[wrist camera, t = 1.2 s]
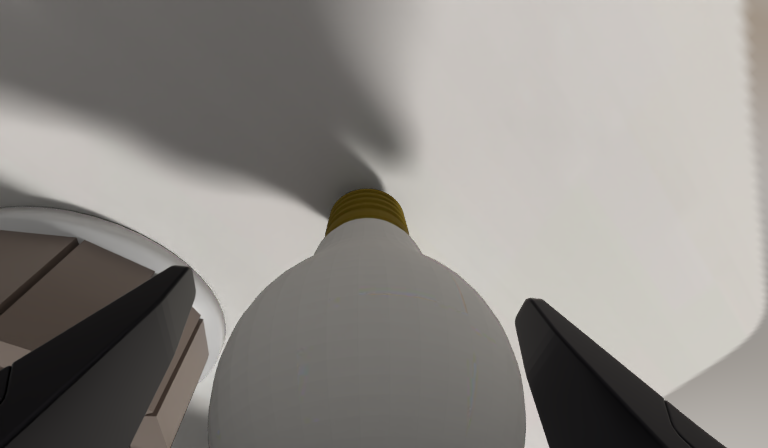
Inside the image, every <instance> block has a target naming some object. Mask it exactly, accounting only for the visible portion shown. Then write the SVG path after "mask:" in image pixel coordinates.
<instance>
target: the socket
mask: <svg viewBox="0 0 768 448" xmlns="http://www.w3.org/2000/svg"><path fill="white" fill-rule="evenodd" d="M173 265H181V266H188V265H187V264H186V263H185V262H183V261H182V260H181V259H180V258H178V257H177V256H176V255H174V254H173V253H171V252H170V251H168V250H167V249H165V248H164V247H162V246H161V245H159V244H158V243H156V242H154V241H152V240H150V239H148V238H146V237H144V236H143V235H141V234H139V233H137V232H134V231H132V230H130V229H127V228H125V227H123V226H120V225H118V224H115V223H112V222H109V221H106V220H103V219H100V218H97V217H94V216H90V215H86V214H82V213H77V212H73V211H68V210H61V209H55V208H47V207H30V206H23V207H4V208H0V370H1V369H3V368H5V367H6V366H12V363H13V362H15V361H16V360H18V359H20V358H21V357H23V356H24V355H26V354H28V353H29V352H31V351H33V350H34V349H36V348H38V347H39V346H41V345H43V344H44V343H46V342H47V341H49V340H51V339H52V338H54V337H56V336H57V335H59V334H61V333H62V332H64V331H65V330H67V329H69V328H70V327H72V326H74V325H75V324H77V323H79V322H80V321H82V320H83V319H85V318H87V317H88V316H90V315H92V314H93V313H95V312H97V311H98V310H100V309H101V308H103V307H105V306H106V305H108V304H110V303H111V302H113V301H115V300H116V299H118V298H119V297H121V296H123V295H124V294H126V293H128V292H129V291H131V290H133V289H134V288H136V287H137V286H139V285H141V284H142V283H144V282H146V281H147V280H149V279H151V278H152V277H154V276H155V275H157V274H159V273H160V272H162V271H164V270H165V269H167V268H169V267H170V266H173ZM189 267H190V266H189ZM192 271H193V276H194V282H195V288H196V296H195V300H194V303H193V305H192V308H191V311H190V314H189V317H188V319H187V322H186V325H185V328H184V331H183V333H182V336H181V339H180V342H179V344H178V347H177V350H176V352H175V355H174V357H173V359H172V361H171V364H170V366H169V368H168V370H167V372H166V374H165V376H164V378H163V380H162V382H161V384H160V386H159V388H158V390H157V392H156V394H155V396H154V398H153V400H152V402H151V404H150V406H149V408H148V410H147V412H146V414H145V416H144V418H143V420H142V422H141V424H140V426H139V428H138V430H137V432H136V434H135V436H134V439H133V441H132V443H131V445H130V447H129V448H171V445H172V443H173V441H174V438H175V436H176V433H177V431H178V429H179V426H180V424H181V422H182V419H183V417H184V414H185V412H186V410H187V407H188V405H189V402H190V400H191V398H192V395H193V393H194V390H195V388H196V386H197V384H198V383H199V382H201V381H202V380H203V379H204V378H205V377H206V376H207V375H208V374H209V373H210V372H211V370H212V369H213V368H214V366H215V364H216V361H217V359H218V357H219V354H220V352H221V349H222V346H223V344H224V339H225V335H226V327H225V320H224V315H223V312H222V309H221V307H220V304H219V302H218V300H217V299H216V297H215V295H214V294H213V292H212V291H211V289H210V288H209V287H208V285H207V284H206V283H205V282H204V281H203V279H202V278H201V277H200V276H199V275H198V274H197V273H196V272H195V271H194V270H193V269H192Z"/></svg>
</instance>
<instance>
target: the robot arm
mask: <svg viewBox="0 0 768 448" xmlns="http://www.w3.org/2000/svg"><path fill="white" fill-rule="evenodd" d="M195 296H196V288H195V282H194V276H193V271H192V268H191V267H189V266H181V265H173V266H170V267H169V268H167V269H165V270H164V271H162V272H160V273H159V274H157V275H155V276H154V277H152V278H151V279H149V280H147V281H146V282H144V283H142V284H141V285H139V286H137V287H136V288H134V289H133V290H131V291H129V292H128V293H126V294H124V295H123V296H121V297H119V298H118V299H116V300H115V301H113V302H111V303H110V304H108V305H106V306H105V307H103V308H101V309H100V310H98V311H97V312H95V313H93V314H92V315H90V316H88V317H87V318H85V319H83V320H82V321H80V322H79V323H77V324H75V325H74V326H72V327H70V328H69V329H67V330H65V331H64V332H62V333H61V334H59V335H57V336H56V337H54V338H52V339H51V340H49V341H47V342H46V343H44V344H43V345H41V346H39V347H38V348H36V349H34V350H33V351H31V352H29V353H28V354H26V355H24V356H23V357H21V358H20V359H18V360H16V361H15V362H13V363H12V366H6V367H5V368H3V369H1V370H0V448H129V447H130V445H131V443H132V441H133V439H134V436H135V434H136V432H137V430H138V428H139V426H140V424H141V422H142V420H143V418H144V416H145V414H146V412H147V410H148V408H149V406H150V404H151V402H152V400H153V398H154V396H155V394H156V392H157V390H158V388H159V386H160V384H161V382H162V380H163V378H164V376H165V374H166V372H167V370H168V368H169V366H170V364H171V361H172V359H173V357H174V355H175V352H176V350H177V347H178V344H179V342H180V339H181V336H182V333H183V331H184V328H185V325H186V322H187V319H188V317H189V314H190V311H191V308H192V305H193V303H194V300H195ZM515 327H516V331H517V336H518V341H519V345H520V350H521V354H522V359H523V364H524V368H525V372H526V376H527V380H528V383H529V386H530V389H531V392H532V395H533V398H534V402H535V405H536V408H537V411H538V414H539V417H540V420H541V423H542V426H543V429H544V432H545V435H546V438H547V442H548V445H549V448H726V447H725V446H724V445H722V444H721V443H720V442H718V441H717V440H716V439H714V438H713V437H712V436H710V435H709V434H708V433H706V432H705V431H704V430H703V429H701V428H700V427H699V426H697V425H696V424H695V423H694V422H693V421H691V420H690V419H689V418H687V417H686V416H685V415H684V414H682V413H681V412H680V411H679V410H678V409H676V408H675V407H674V406H673V405H671V404H670V403H669V402H668V401H664V398H663V397H662V396H660V395H659V394H658V393H657V392H655V391H654V390H653V389H652V388H651V387H649V386H648V385H647V384H646V383H644V382H643V381H642V380H641V379H640V378H638V377H637V376H636V375H635V374H633V373H632V372H631V371H630V370H628V369H627V368H626V367H625V366H624V365H622V364H621V363H620V362H619V361H617V360H616V359H615V358H614V357H613V356H611V355H610V354H609V353H608V352H606V351H605V350H604V349H603V348H601V347H600V346H599V345H598V344H597V343H595V342H594V341H593V340H592V339H590V338H589V337H588V336H587V335H586V334H584V333H583V332H582V331H581V330H579V329H578V328H577V327H576V326H574V325H573V324H572V323H571V322H570V321H568V320H567V319H566V318H565V317H563V316H562V315H561V314H560V313H559V312H557V311H556V310H555V309H554V308H552V307H551V306H550V305H549V304H548V303H546V302H545V301H544V300H542V299H536V298H528V299H526V300H525V302H524V303H523V305H522V307H521V309H520V311H519V312H518V314H517V316H516V319H515Z"/></svg>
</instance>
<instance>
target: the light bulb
mask: <svg viewBox="0 0 768 448" xmlns="http://www.w3.org/2000/svg"><path fill="white" fill-rule="evenodd" d="M525 433H526V413H525V403H524V393H523V385H522V380H521V374H520V371H519V367H518V363H517V361H516V358H515V355H514V352H513V350H512V347H511V345H510V343H509V340H508V338H507V336H506V334H505V331H504V329H503V327H502V326H501V324H500V322H499V320H498V319H497V317H496V316H495V315H494V313H493V312H492V310H491V309H490V308H489V306H488V305H487V304H486V302H485V301H484V299H483V298H482V297H481V296H480V295H479V294H478V292H477V291H476V290H475V289H473V288H472V287H471V286H470V285H469V284H468V283H467V282H466V281H465V280H464V279H462V278H461V277H460V276H459V275H458V274H456V273H455V272H454V271H452V270H451V269H449V268H448V267H446V266H444V265H443V264H441V263H440V262H438V261H436V260H434V259H432V258H430V257H428V256H425V255H423V254H422V253H421V251H420V249H419V248H418V246H417V245H416V243H415V242H414V241H413V239H412V238H411V237H410V236H409V232H408V228H407V225H406V221H405V217H404V214H403V210H402V208H401V206H400V205H399V203H398V202H397V201H396V200H395V199H394V198H393V197H392V196H390V195H389V194H387V193H385V192H382V191H379V190H375V189H358V190H355V191H351V192H349V193H347V194H345V195H344V196H342V197H341V198H340V199H339V200H338V201H337V202H336V203H335V204H334V206H333V208H332V210H331V213H330V217H329V221H328V224H327V229H326V233H325V238H324V239H323V240H322V241H321V243H320V245H319V246H318V248H317V250H316V252H315V254H314V256H312V257H310V258H307V259H306V260H304V261H302V262H300V263H299V264H297V265H295V266H294V267H292V268H290V269H289V270H287V271H285V272H284V273H283V274H281V275H280V276H279V277H278V278H277V279H275V280H274V281H273V282H272V283H271V284H270V285H268V286H267V287H266V288H265V289H264V290H263V291H262V292H261V293H260V294H259V295H258V296H257V298H256V299H255V300H254V301H253V303H252V304H251V305H250V306H249V308H248V309H247V310H246V311H245V313H244V314H243V315H242V317H241V318H240V320H239V321H238V323H237V324H236V326H235V328H234V330H233V332H232V334H231V336H230V338H229V340H228V342H227V344H226V346H225V349H224V351H223V353H222V355H221V358H220V361H219V364H218V367H217V370H216V374H215V378H214V382H213V387H212V393H211V399H210V406H209V415H208V442H209V448H524V445H525Z"/></svg>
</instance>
